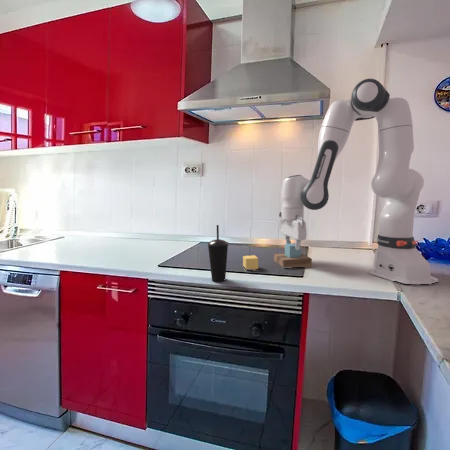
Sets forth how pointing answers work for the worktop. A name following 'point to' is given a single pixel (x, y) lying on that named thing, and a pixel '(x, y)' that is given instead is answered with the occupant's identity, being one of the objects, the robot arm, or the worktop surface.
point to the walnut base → (293, 260)
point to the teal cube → (292, 251)
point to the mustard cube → (250, 262)
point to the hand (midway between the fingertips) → (292, 247)
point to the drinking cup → (218, 258)
